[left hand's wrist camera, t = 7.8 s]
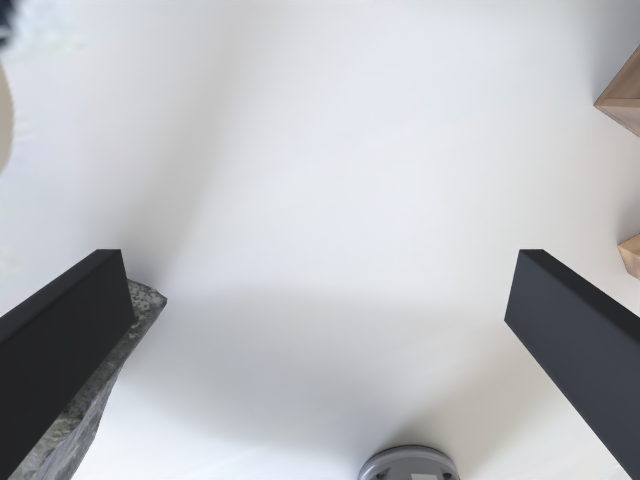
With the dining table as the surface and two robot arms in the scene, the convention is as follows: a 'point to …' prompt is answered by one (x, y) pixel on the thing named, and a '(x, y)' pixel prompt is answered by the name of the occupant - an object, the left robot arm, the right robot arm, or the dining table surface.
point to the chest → (624, 96)
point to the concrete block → (89, 401)
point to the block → (631, 255)
